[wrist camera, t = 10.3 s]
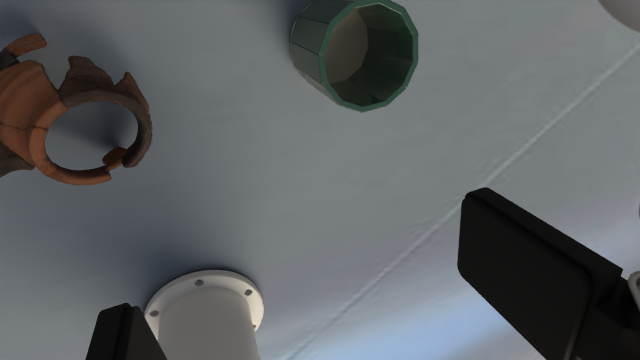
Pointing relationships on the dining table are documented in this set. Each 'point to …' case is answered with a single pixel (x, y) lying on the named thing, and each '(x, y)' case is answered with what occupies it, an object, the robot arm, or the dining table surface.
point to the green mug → (355, 51)
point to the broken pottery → (60, 112)
